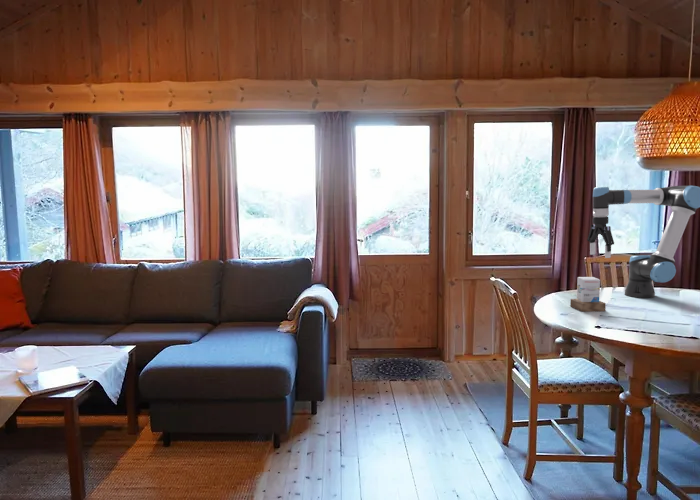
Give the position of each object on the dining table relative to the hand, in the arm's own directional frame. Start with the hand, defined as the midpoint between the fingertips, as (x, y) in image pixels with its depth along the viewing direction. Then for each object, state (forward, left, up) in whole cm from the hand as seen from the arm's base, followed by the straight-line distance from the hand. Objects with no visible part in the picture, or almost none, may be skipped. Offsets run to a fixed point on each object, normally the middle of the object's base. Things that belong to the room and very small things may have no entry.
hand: (600, 256), depth 276 cm
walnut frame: (+13, +13, -25) cm, 31 cm away
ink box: (+13, +13, -21) cm, 28 cm away
